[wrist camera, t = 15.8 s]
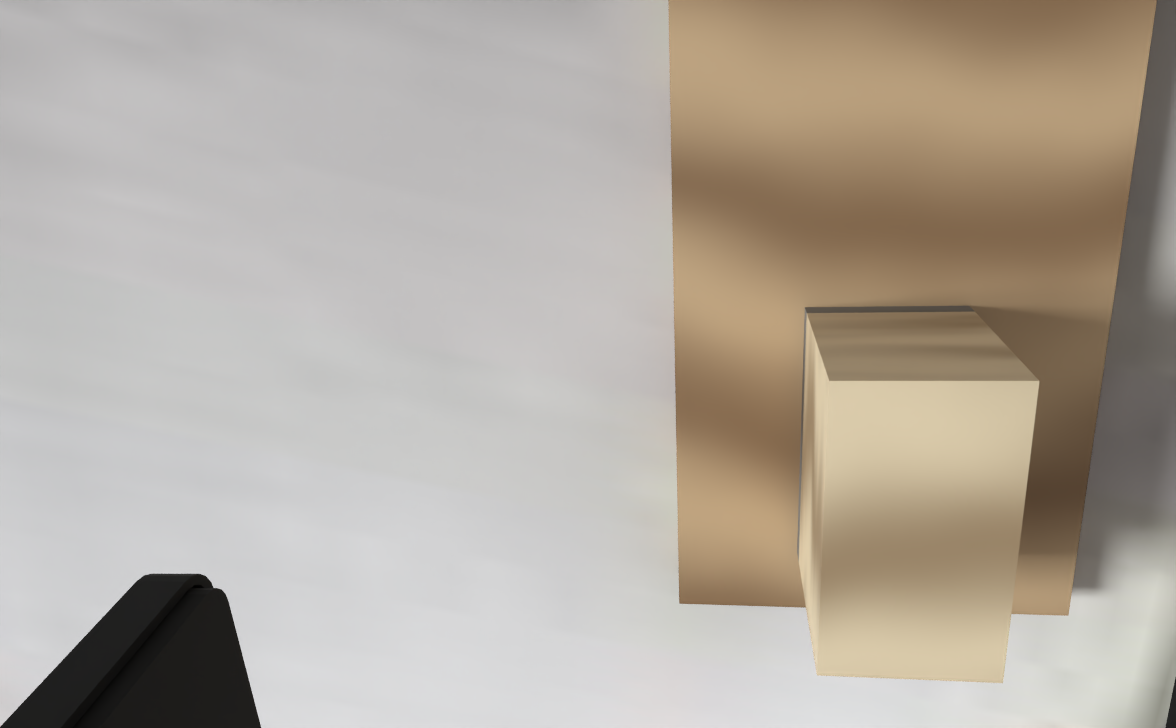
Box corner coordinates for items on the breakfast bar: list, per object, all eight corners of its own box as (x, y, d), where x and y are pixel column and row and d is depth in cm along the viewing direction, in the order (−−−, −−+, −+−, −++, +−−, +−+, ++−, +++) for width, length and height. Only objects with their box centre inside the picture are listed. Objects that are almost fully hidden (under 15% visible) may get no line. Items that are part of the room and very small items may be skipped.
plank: (665, -324, 23) (662, -347, 22) (1183, -377, 22) (1215, -405, 20) (680, 578, 32) (679, 603, 30) (1051, 588, 30) (1068, 615, 29)
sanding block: (804, 307, 27) (829, 380, 21) (968, 305, 26) (1039, 380, 20) (797, 552, 29) (816, 675, 24) (946, 555, 29) (1002, 682, 23)
